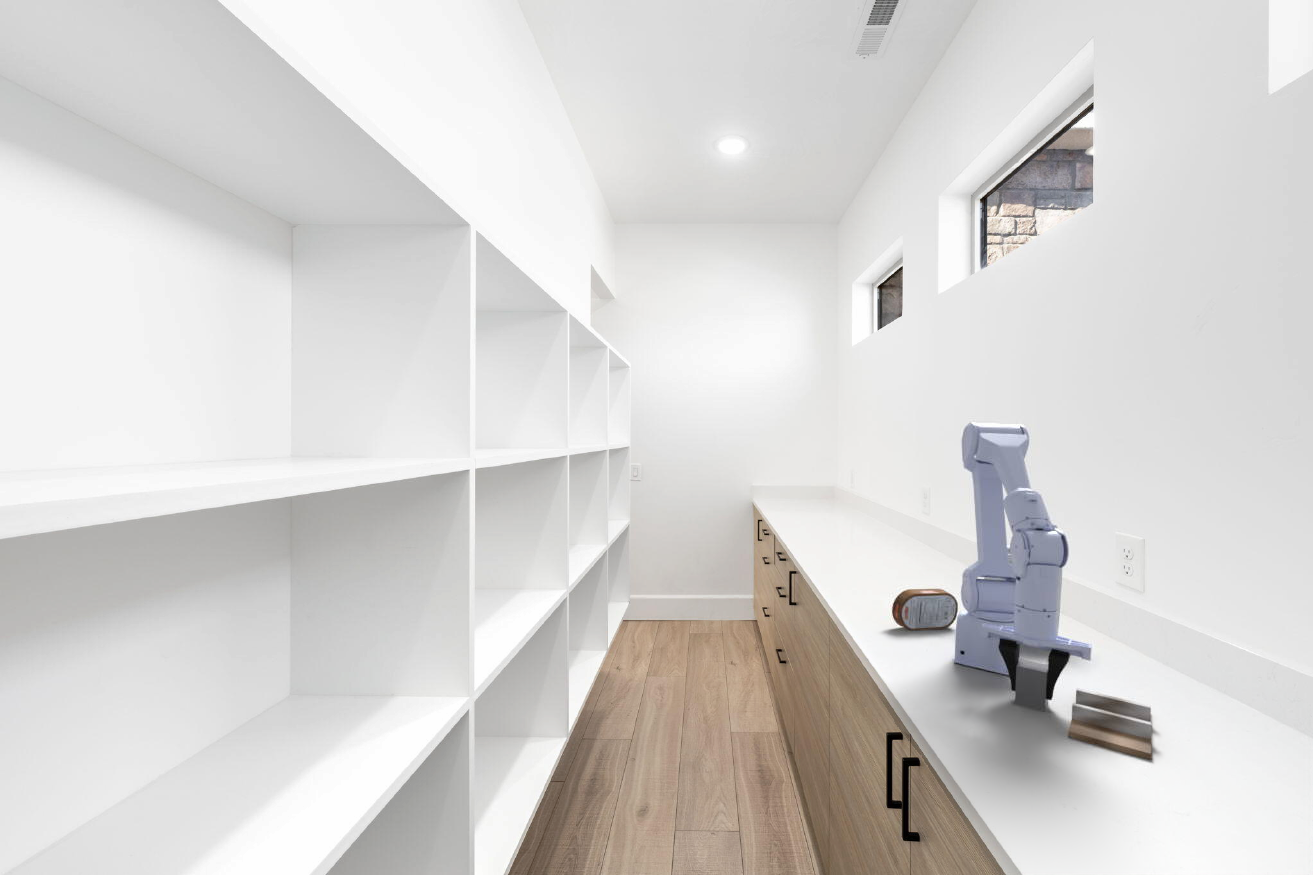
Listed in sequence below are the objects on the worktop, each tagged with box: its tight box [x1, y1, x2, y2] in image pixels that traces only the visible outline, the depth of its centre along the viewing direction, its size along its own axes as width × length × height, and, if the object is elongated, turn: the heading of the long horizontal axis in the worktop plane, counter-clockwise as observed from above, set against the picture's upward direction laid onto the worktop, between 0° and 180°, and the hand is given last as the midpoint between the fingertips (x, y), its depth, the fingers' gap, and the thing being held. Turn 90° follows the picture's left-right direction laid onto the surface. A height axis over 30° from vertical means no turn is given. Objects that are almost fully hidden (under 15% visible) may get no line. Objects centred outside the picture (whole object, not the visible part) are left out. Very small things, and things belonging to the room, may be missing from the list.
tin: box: [891, 588, 959, 631], centre depth 133 cm, size 15×3×8 cm, turn 105°
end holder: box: [1067, 687, 1153, 761], centre depth 90 cm, size 9×18×3 cm, turn 142°
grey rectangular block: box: [1014, 658, 1049, 713], centre depth 97 cm, size 4×4×6 cm
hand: (1031, 693), depth 97 cm, fingers closed on grey rectangular block, 4 cm apart
